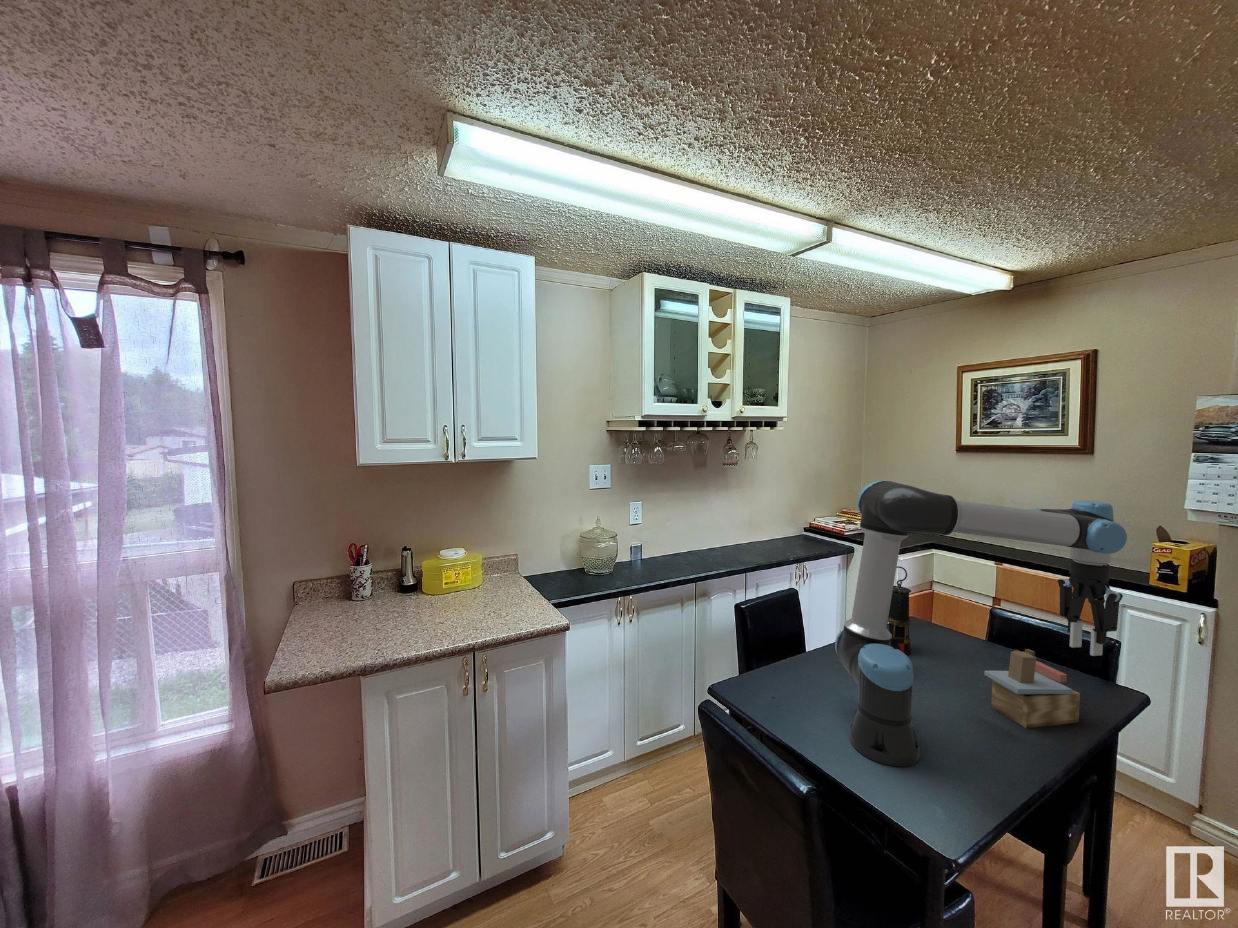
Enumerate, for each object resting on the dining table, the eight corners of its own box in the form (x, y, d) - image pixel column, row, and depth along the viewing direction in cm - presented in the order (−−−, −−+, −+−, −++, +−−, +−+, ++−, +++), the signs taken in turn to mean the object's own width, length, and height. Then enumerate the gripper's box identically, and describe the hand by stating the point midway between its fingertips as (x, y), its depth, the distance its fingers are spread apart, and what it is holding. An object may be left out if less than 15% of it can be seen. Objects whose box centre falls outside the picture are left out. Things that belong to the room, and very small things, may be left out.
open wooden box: (1026, 728, 125) (1027, 698, 125) (991, 706, 135) (992, 679, 135) (1078, 722, 127) (1079, 693, 127) (1040, 701, 137) (1041, 674, 137)
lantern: (901, 657, 165) (903, 571, 164) (876, 647, 173) (878, 565, 172) (916, 651, 170) (918, 568, 168) (891, 642, 178) (893, 562, 176)
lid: (1017, 697, 125) (1020, 662, 124) (983, 678, 135) (987, 646, 134) (1071, 697, 127) (1075, 663, 126) (1034, 678, 137) (1038, 647, 136)
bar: (1060, 682, 129) (1060, 675, 129) (1014, 660, 142) (1014, 653, 142) (1066, 681, 130) (1066, 674, 130) (1020, 659, 143) (1020, 653, 142)
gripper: (1143, 570, 115) (1138, 665, 116) (1066, 552, 132) (1063, 635, 133) (1116, 571, 114) (1111, 667, 115) (1043, 554, 131) (1039, 637, 132)
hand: (1085, 650), depth 124 cm, fingers open, 4 cm apart
